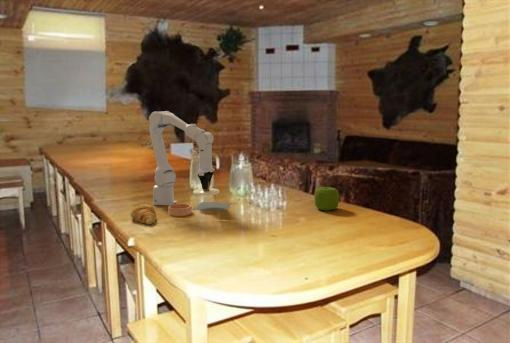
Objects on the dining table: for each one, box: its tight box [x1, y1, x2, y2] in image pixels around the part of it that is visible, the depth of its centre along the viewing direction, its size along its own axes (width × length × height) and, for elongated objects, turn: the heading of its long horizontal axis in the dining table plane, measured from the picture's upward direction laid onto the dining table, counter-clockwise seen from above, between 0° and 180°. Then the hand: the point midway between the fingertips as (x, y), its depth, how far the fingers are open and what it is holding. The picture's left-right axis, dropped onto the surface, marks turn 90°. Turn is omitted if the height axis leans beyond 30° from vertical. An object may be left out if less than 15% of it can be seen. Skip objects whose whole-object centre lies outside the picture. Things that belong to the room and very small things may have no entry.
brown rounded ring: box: [167, 203, 193, 217], centre depth 195 cm, size 10×10×4 cm
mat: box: [192, 201, 233, 212], centre depth 207 cm, size 15×15×1 cm
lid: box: [192, 182, 220, 196], centre depth 203 cm, size 12×12×5 cm
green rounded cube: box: [314, 185, 340, 212], centre depth 202 cm, size 11×11×11 cm
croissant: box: [130, 202, 157, 225], centre depth 187 cm, size 21×10×8 cm, turn 31°
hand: (206, 188), depth 203 cm, fingers closed on lid, 3 cm apart
